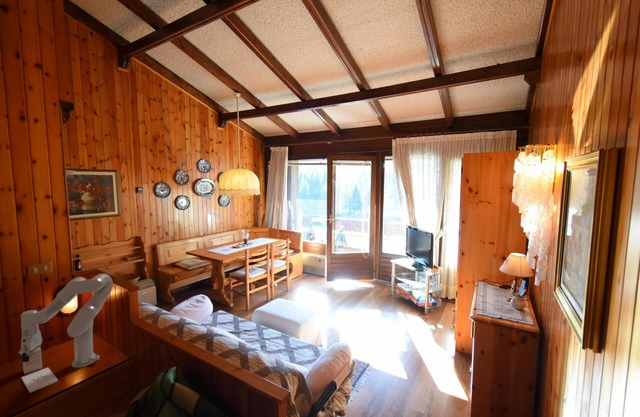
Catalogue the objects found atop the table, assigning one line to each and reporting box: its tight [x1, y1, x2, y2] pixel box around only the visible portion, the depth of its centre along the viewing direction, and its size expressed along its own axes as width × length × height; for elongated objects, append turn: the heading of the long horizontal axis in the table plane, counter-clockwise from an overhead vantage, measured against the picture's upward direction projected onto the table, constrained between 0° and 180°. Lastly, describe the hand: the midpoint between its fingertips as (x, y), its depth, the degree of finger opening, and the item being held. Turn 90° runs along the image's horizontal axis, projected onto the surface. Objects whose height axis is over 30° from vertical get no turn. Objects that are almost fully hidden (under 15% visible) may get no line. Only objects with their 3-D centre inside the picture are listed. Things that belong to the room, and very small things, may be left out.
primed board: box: [20, 367, 59, 393], centre depth 173 cm, size 20×12×1 cm, turn 55°
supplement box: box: [22, 347, 43, 375], centre depth 182 cm, size 8×5×13 cm, turn 140°
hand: (31, 357), depth 182 cm, fingers closed on supplement box, 8 cm apart
